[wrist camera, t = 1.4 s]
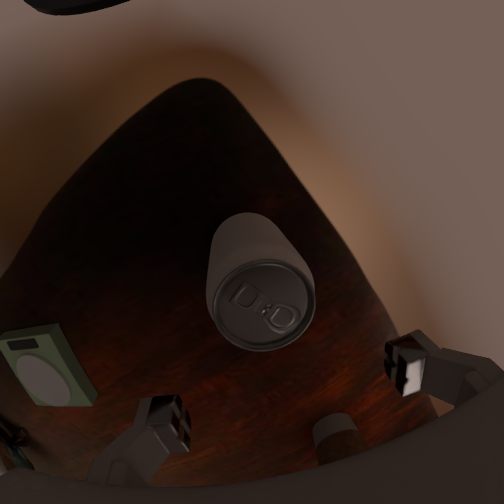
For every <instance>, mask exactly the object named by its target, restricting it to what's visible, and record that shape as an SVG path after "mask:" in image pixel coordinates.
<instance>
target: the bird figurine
mask: <svg viewBox="0 0 504 504" xmlns="http://www.w3.org/2000/svg"><path fill="white" fill-rule="evenodd" d="M26 435H27V431H26V430H25V429H21V430H19V431H18V432H17V433H16V434H15V435H13V436H12V437H10V436H9V435H8V434H7V433H6V432H5V431H4V430H3V429H2V428H1V427H0V456H1V458H2V461H3V463H4V465H5V467H6V469H7V471H9V470H11V469H13V468H15V467H24V468H28V469H31V470H35V469H34V466H33V465H32V463H31V462H30V461H29V460H28V459H27V458H26V456H25V455H24V453H23V452H22V450H21V449H20V448H19V447H18V446H20V447H27V446H28V445H27V443H26V442H25V441H20V440H22V439H24V438H25V436H26Z"/></svg>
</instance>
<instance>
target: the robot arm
mask: <svg viewBox="0 0 504 504" xmlns="http://www.w3.org/2000/svg"><path fill="white" fill-rule="evenodd" d="M385 352H386V353H387V356H386V357H385V359H384V367H385V371H386V374H387V376H388V377H389V379H390V380H392V381H394V382H396V385H395V387H396V389H397V390H398V391H399V393H400V394H401V396H402V397H404V396H407V395H409V394H412V393H414V392H416V391H418V390H421V391H423V392H425V393H427V394H429V395H432V396H434V397H436V398H439V399H441V400H443V401H445V402H448V403H450V404H452V405H454V406H455V407H454V409H453V410H451V411H449V412H447V413H446V414H444V415H442V416H440V417H438V418H436V419H435V420H433V421H431V422H429V423H427V424H425V425H423V426H421V427H419V428H417V429H415V430H413V431H411V432H409V433H407V434H405V435H402V436H400V437H398V438H396V439H393V440H391V441H389V442H386V443H384V444H382V445H379V446H377V447H374V448H372V449H369V450H366V451H364V452H361V453H358V454H356V455H353V456H350V457H347V458H344V459H341V460H338V461H334V462H331V463H328V464H324V465H321V466H317V467H314V468H310V469H306V470H302V471H298V472H294V473H289V474H285V475H280V476H275V477H270V478H265V479H259V480H253V481H246V482H239V483H231V484H222V485H211V486H196V487H149V486H148V485H147V484H148V482H149V481H150V480H151V478H152V477H153V476H154V474H155V473H156V472H157V470H158V469H159V468H160V466H161V465H162V464H163V462H164V461H165V460H166V458H167V457H168V456H169V453H180V452H189V449H190V437H189V436H188V433H189V432H190V431H191V419H190V415H189V413H188V411H187V409H186V408H185V407H183V406H182V400H181V398H180V396H179V395H177V394H175V395H165V396H154V397H143V398H142V399H141V400H140V402H139V406H138V409H137V413H136V416H135V420H134V423H133V426H131V427H128V428H127V429H126V430H125V431H124V432H123V433H122V434H121V435H120V436H118V437H117V438H116V439H115V440H114V441H113V442H112V443H111V444H109V445H108V446H107V447H106V448H105V449H104V450H103V451H102V452H100V453H99V454H98V455H97V456H96V457H95V458H93V460H92V463H91V466H90V469H89V472H88V476H87V479H86V481H81V480H75V479H69V478H64V477H59V476H55V475H50V474H46V473H42V472H38V471H35V470H31V469H28V468H24V467H15V468H13V469H11V470H9V471H8V472H6V473H5V474H3V475H2V476H0V504H504V371H503V370H502V369H501V368H500V367H499V366H498V365H497V364H495V363H494V362H493V361H492V360H491V359H489V358H485V357H481V356H476V355H472V354H467V353H463V352H459V351H454V350H450V349H446V348H442V349H440V348H439V347H438V346H437V345H436V344H434V343H433V342H432V341H431V340H430V339H429V338H428V337H427V336H426V335H425V334H424V333H422V331H421V330H415V331H413V332H411V333H408V334H407V335H404V336H401V337H399V338H396V339H394V340H391V341H389V342H386V345H385Z"/></svg>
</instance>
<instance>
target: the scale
mask: <svg viewBox="0 0 504 504" xmlns="http://www.w3.org/2000/svg"><path fill="white" fill-rule="evenodd" d="M0 349H1V351H2V353H3V354H4V356H5V358H6V360H7V361H8V363H9V365H10V366H11V368H12V370H13V371H14V373H15V374H16V376H17V377H18V379H19V381H20V382H21V384H22V385H23V387H24V388H25V389H26V391H27V392H28V394H29V395H30V397H31V398H32V399H33V401H34V402H35V403H36V405H48V406H93V404H94V402H95V400H96V397H97V395H98V393H97V391H96V390H95V388H94V386H93V385H92V383H91V382H90V380H89V378H88V377H87V375H86V374H85V372H84V370H83V369H82V367H81V365H80V363H79V362H78V360H77V358H76V356H75V355H74V353H73V351H72V349H71V347H70V345H69V344H68V342H67V340H66V338H65V336H64V334H63V332H62V330H61V328H60V326H59V324H58V323H54V324H49V325H43V326H37V327H31V328H25V329H19V330H13V331H7V332H4V333H3V334H2V335H1V336H0Z"/></svg>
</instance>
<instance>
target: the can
mask: <svg viewBox="0 0 504 504" xmlns="http://www.w3.org/2000/svg"><path fill="white" fill-rule="evenodd" d="M206 301H207V306H208V310H209V313H210V315H211V317H212V319H213V320H214V322H215V325H216V327H217V329H218V330H219V332H220V333H221V334H222V336H223V337H224V338H225V339H226V340H228V341H229V342H230V343H232V344H234V345H235V346H237V347H240V348H242V349H245V350H250V351H259V352H262V351H271V350H276V349H279V348H282V347H284V346H286V345H288V344H290V343H292V342H293V341H295V340H296V339H297V338H298V337H300V336H301V335H302V334H303V333H304V331H305V330H306V329H307V327H308V326H309V324H310V323H311V320H312V318H313V315H314V312H315V306H316V298H315V287H314V280H313V277H312V274H311V272H310V269H309V267H308V266H307V264H306V263H305V261H304V260H303V258H302V257H301V256H300V255H299V253H298V252H297V251H296V249H295V248H294V247H293V246H292V244H291V243H290V242H289V241H288V239H287V238H286V237H285V236H284V235H283V233H282V232H281V231H280V230H279V229H278V227H277V226H276V225H275V224H274V223H273V222H272V221H271V220H269V219H268V218H266V217H264V216H262V215H260V214H256V213H240V214H236V215H234V216H231V217H230V218H228V219H226V220H225V221H224V222H223V223H222V224H221V225H220V226H219V227H218V229H217V230H216V232H215V234H214V236H213V240H212V244H211V251H210V258H209V266H208V275H207V284H206Z"/></svg>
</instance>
